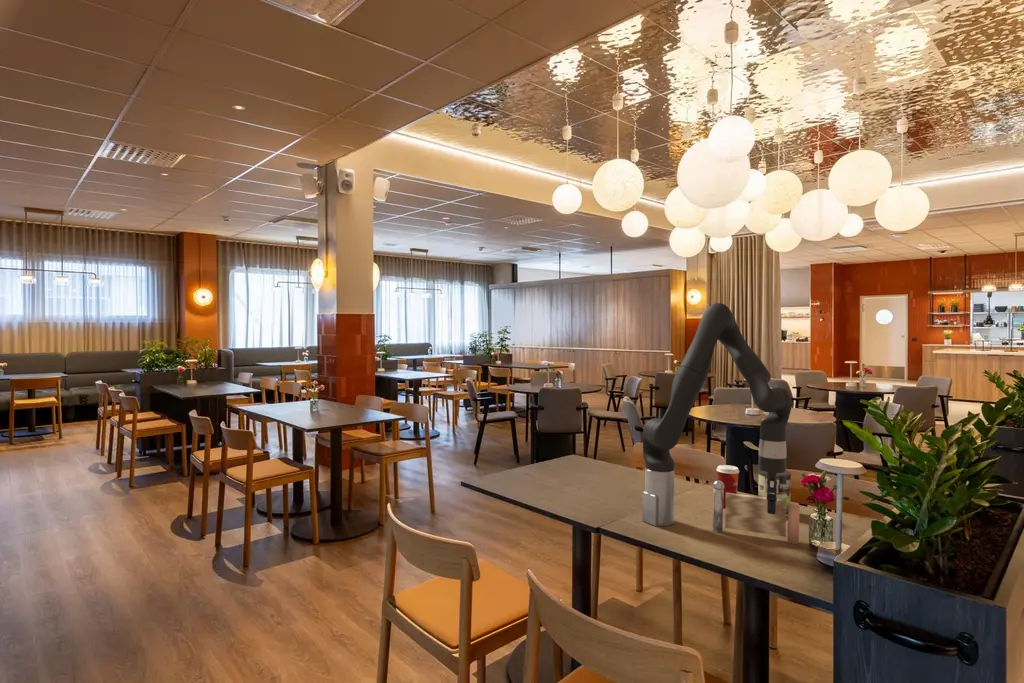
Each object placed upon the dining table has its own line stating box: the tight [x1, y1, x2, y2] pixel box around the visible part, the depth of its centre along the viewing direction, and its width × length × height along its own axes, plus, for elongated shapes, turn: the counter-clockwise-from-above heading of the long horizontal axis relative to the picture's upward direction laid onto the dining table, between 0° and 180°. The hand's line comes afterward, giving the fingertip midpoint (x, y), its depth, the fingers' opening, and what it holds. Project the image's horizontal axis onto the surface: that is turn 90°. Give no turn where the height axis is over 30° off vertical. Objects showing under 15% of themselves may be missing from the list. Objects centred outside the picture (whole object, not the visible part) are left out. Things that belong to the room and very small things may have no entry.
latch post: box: [787, 503, 801, 545], centre depth 165 cm, size 3×3×11 cm
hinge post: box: [712, 479, 724, 533], centre depth 174 cm, size 3×3×16 cm
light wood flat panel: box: [724, 493, 787, 538], centre depth 169 cm, size 17×2×10 cm, turn 65°
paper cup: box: [716, 464, 740, 509], centre depth 198 cm, size 8×8×14 cm
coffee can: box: [757, 468, 792, 517], centre depth 192 cm, size 10×10×14 cm
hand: (771, 509), depth 167 cm, fingers open, 6 cm apart
